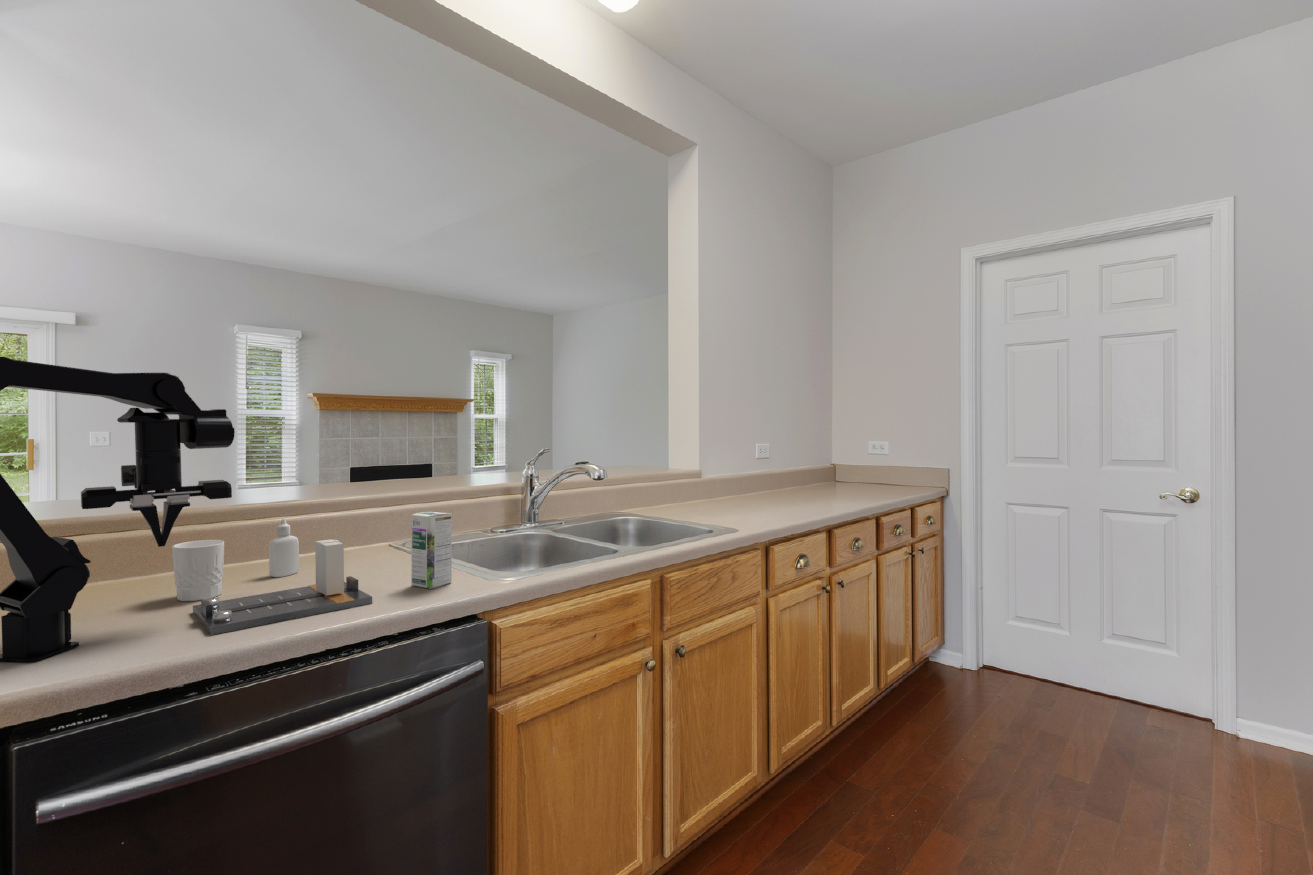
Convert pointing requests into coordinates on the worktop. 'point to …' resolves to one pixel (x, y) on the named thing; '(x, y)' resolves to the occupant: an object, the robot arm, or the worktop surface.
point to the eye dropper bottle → (283, 552)
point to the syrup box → (431, 549)
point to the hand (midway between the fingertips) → (161, 546)
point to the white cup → (198, 569)
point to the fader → (329, 566)
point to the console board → (275, 607)
